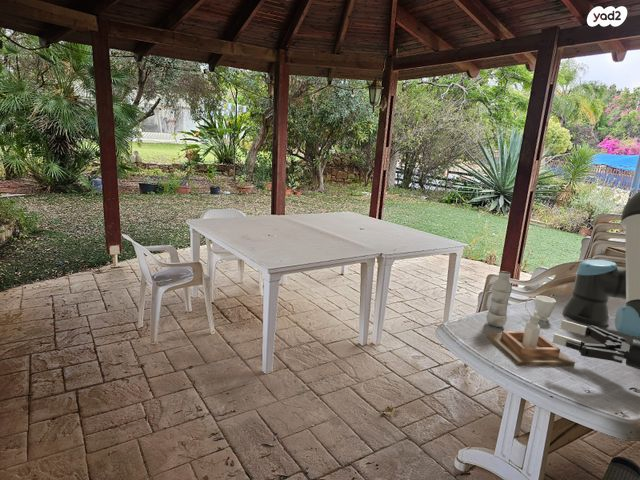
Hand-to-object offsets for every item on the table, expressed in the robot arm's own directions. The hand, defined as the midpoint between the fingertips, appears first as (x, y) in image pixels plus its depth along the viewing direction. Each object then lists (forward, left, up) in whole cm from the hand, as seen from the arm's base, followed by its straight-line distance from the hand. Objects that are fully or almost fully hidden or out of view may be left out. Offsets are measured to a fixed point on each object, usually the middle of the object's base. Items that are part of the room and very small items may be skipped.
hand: (557, 330), depth 121 cm
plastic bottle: (+6, -23, -10) cm, 25 cm away
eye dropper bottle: (+4, -5, -8) cm, 11 cm away
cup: (-16, -31, -10) cm, 36 cm away
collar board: (+5, -5, -9) cm, 12 cm away
